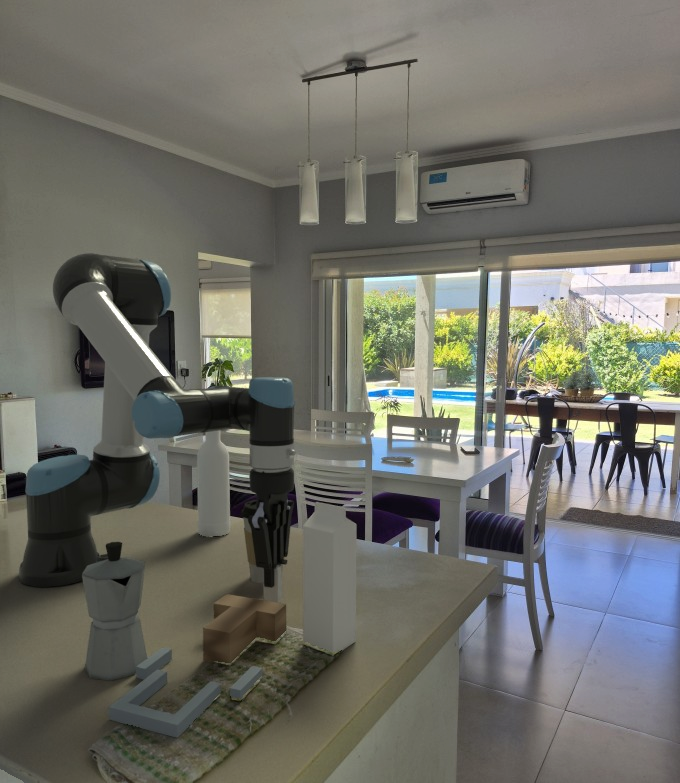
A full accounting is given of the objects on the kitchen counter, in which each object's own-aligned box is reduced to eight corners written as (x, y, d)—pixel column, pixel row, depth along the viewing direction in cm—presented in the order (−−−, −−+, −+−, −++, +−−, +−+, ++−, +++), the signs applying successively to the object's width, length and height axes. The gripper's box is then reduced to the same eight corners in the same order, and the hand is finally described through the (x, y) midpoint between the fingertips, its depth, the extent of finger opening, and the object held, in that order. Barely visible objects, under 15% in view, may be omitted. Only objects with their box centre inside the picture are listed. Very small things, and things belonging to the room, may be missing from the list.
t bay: (88, 713, 77) (87, 701, 77) (162, 657, 91) (162, 647, 91) (201, 744, 71) (200, 731, 71) (262, 679, 86) (262, 667, 85)
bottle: (218, 526, 159) (217, 410, 156) (236, 532, 153) (235, 412, 151) (191, 532, 153) (189, 412, 151) (209, 539, 147) (207, 415, 145)
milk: (326, 631, 100) (326, 497, 99) (356, 642, 96) (357, 503, 95) (302, 645, 95) (302, 505, 94) (333, 657, 92) (333, 511, 90)
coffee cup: (282, 589, 117) (282, 511, 116) (234, 584, 119) (233, 508, 118) (296, 570, 127) (296, 499, 126) (251, 567, 129) (250, 496, 128)
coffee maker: (160, 675, 86) (157, 550, 85) (94, 694, 82) (90, 562, 80) (132, 634, 99) (130, 524, 98) (73, 648, 94) (70, 533, 93)
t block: (184, 656, 92) (184, 624, 91) (226, 623, 103) (226, 594, 103) (249, 670, 88) (249, 636, 88) (286, 634, 99) (286, 603, 99)
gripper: (274, 477, 97) (275, 621, 99) (307, 462, 110) (307, 591, 111) (233, 473, 100) (234, 614, 102) (269, 460, 112) (270, 586, 114)
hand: (272, 602), depth 106 cm, fingers closed
